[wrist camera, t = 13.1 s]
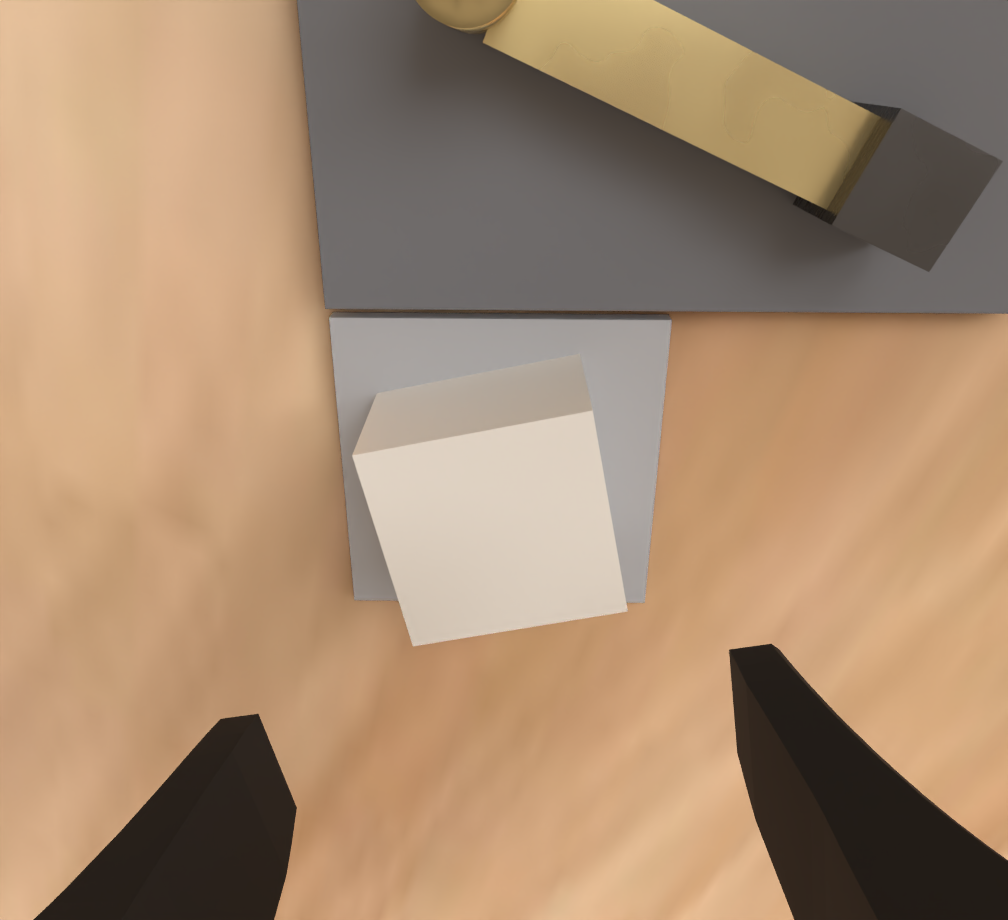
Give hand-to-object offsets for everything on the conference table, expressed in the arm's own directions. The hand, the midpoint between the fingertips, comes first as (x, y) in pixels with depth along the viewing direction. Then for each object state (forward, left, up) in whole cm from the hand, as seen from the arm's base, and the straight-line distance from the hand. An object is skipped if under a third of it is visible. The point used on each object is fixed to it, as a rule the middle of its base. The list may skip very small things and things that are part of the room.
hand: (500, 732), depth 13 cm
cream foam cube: (0, 0, -9) cm, 9 cm away
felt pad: (0, 0, -10) cm, 10 cm away
